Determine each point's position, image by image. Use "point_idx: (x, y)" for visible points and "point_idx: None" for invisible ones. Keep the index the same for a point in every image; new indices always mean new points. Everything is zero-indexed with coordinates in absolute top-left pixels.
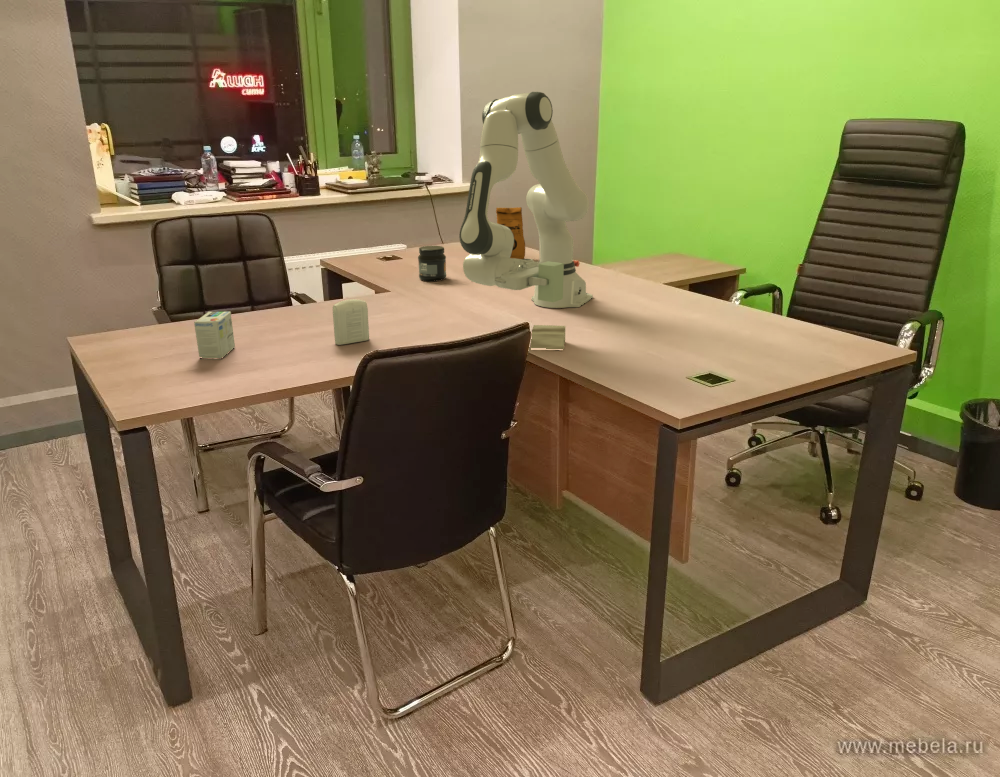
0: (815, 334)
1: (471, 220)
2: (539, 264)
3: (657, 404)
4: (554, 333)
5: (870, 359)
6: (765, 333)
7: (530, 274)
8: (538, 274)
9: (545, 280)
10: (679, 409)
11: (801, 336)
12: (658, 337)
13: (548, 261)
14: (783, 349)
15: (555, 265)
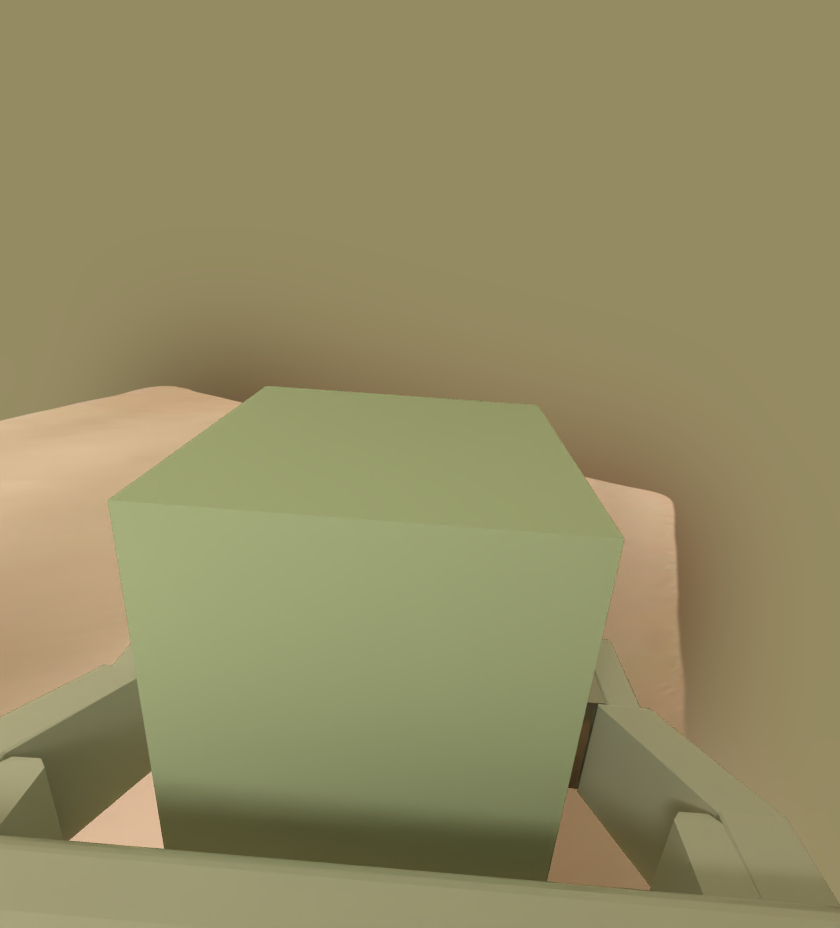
0: (44, 427)
1: None
2: (612, 531)
3: (659, 521)
4: None
5: (215, 401)
6: (30, 465)
7: (808, 914)
8: (573, 757)
9: (605, 645)
10: (642, 500)
11: (62, 436)
12: (83, 616)
13: (146, 494)
14: (179, 446)
15: (475, 404)
